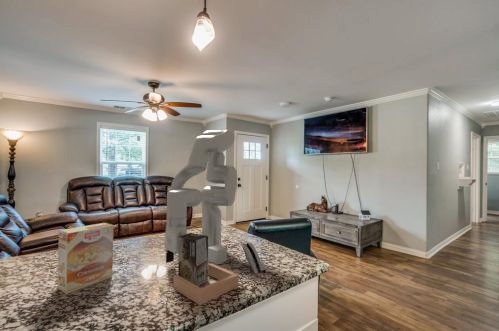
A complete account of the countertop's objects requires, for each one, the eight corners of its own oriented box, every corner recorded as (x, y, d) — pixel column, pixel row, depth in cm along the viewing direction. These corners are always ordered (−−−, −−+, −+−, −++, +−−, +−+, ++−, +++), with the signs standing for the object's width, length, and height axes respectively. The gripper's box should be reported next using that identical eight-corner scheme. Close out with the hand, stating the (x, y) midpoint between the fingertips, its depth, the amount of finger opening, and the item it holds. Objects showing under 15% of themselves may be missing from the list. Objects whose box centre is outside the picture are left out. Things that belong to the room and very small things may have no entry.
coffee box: (208, 280, 89) (209, 235, 89) (196, 288, 83) (196, 240, 83) (190, 274, 93) (190, 232, 94) (177, 281, 88) (177, 236, 88)
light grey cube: (216, 265, 103) (216, 250, 104) (207, 261, 107) (207, 247, 107) (226, 261, 108) (226, 247, 108) (217, 257, 112) (217, 244, 112)
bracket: (173, 288, 83) (173, 276, 83) (211, 273, 95) (211, 263, 95) (199, 305, 73) (200, 291, 73) (238, 286, 84) (238, 274, 84)
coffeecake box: (66, 294, 78) (67, 233, 78) (56, 288, 82) (57, 230, 82) (113, 277, 91) (114, 224, 91) (103, 272, 95) (104, 222, 95)
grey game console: (267, 272, 96) (259, 248, 96) (256, 277, 95) (248, 253, 95) (256, 257, 113) (249, 237, 112) (247, 261, 112) (240, 241, 111)
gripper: (157, 219, 100) (156, 261, 100) (179, 226, 88) (179, 274, 88) (174, 217, 106) (173, 257, 106) (197, 223, 94) (196, 268, 94)
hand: (176, 265), depth 97 cm, fingers open, 9 cm apart
